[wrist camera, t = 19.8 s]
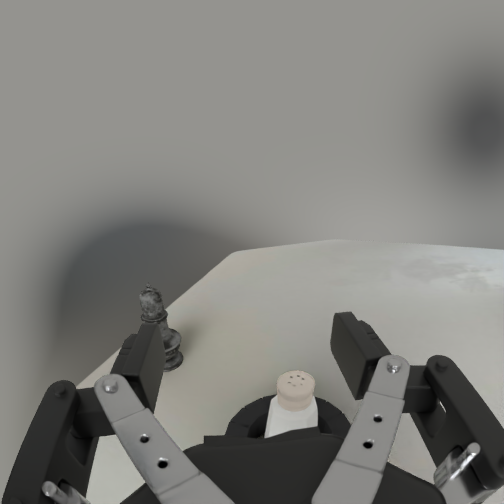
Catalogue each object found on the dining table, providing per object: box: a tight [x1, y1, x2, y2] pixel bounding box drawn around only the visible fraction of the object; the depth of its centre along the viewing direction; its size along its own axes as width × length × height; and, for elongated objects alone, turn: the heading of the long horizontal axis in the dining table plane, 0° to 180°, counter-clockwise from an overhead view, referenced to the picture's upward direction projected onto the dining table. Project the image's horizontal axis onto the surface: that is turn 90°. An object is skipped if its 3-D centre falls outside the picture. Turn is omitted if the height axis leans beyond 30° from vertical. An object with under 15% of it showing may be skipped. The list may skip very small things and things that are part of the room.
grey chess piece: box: [140, 283, 183, 372], centre depth 36 cm, size 6×6×12 cm
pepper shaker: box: [264, 370, 318, 439], centre depth 21 cm, size 5×5×11 cm
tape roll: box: [225, 394, 351, 438], centre depth 22 cm, size 12×12×4 cm
